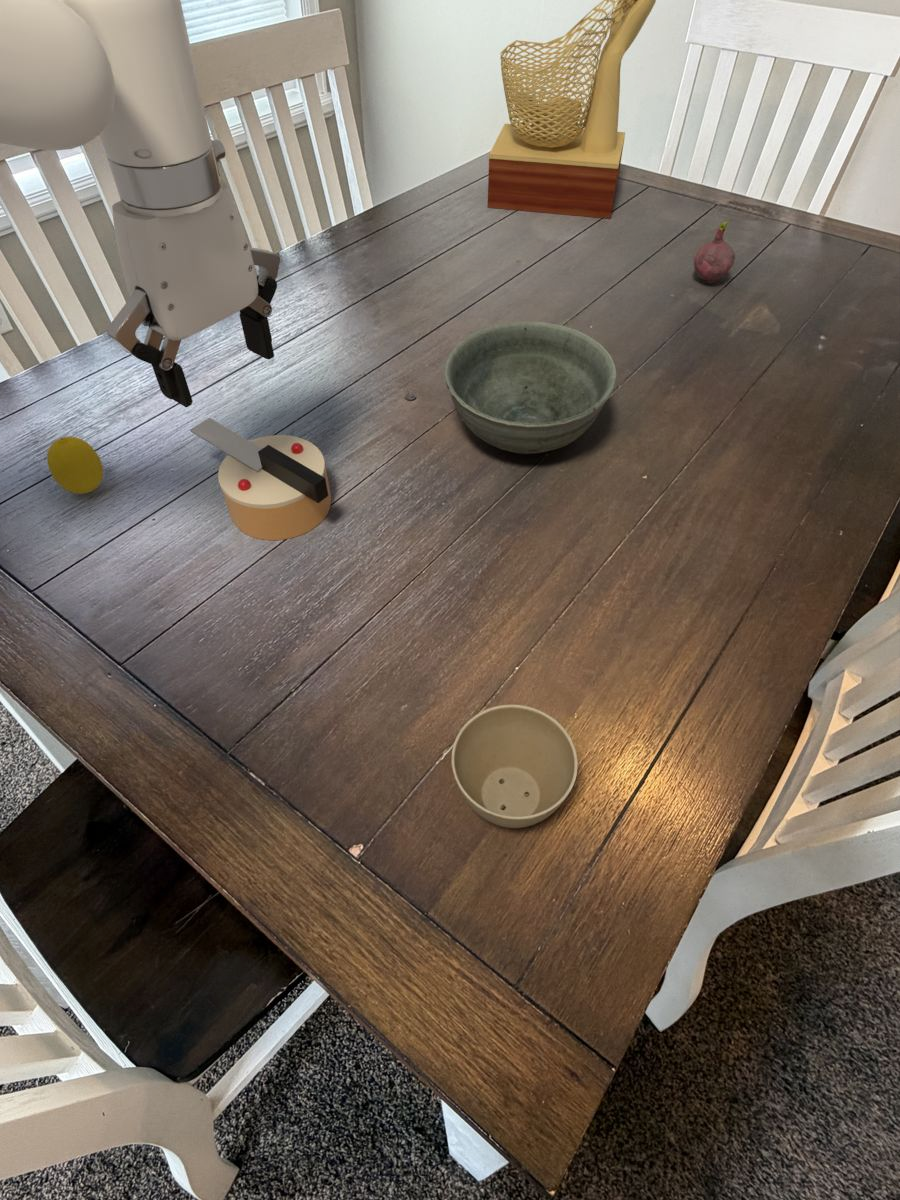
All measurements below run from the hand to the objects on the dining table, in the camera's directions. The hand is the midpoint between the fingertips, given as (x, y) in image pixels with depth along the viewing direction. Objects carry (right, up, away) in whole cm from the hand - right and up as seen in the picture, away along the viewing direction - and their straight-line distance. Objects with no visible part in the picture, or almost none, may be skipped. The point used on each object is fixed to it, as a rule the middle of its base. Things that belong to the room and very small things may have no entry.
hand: (221, 376), depth 68 cm
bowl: (+31, +1, +28) cm, 42 cm away
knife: (0, -5, +15) cm, 16 cm away
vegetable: (+64, +31, +52) cm, 88 cm away
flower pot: (+26, -38, -4) cm, 46 cm away
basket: (+42, +57, +74) cm, 103 cm away
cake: (+1, -9, +19) cm, 21 cm away
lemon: (-23, -8, +21) cm, 32 cm away
